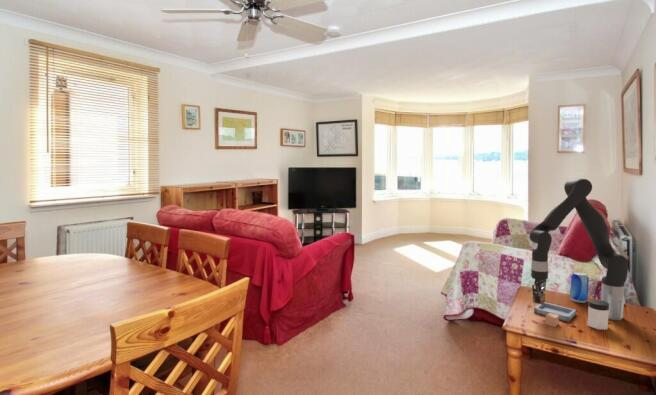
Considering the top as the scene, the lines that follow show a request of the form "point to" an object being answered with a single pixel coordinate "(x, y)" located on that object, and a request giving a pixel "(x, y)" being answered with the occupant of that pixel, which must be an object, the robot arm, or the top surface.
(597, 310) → the jar
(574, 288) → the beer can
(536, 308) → the tray
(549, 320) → the block terracotta
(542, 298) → the block walnut
